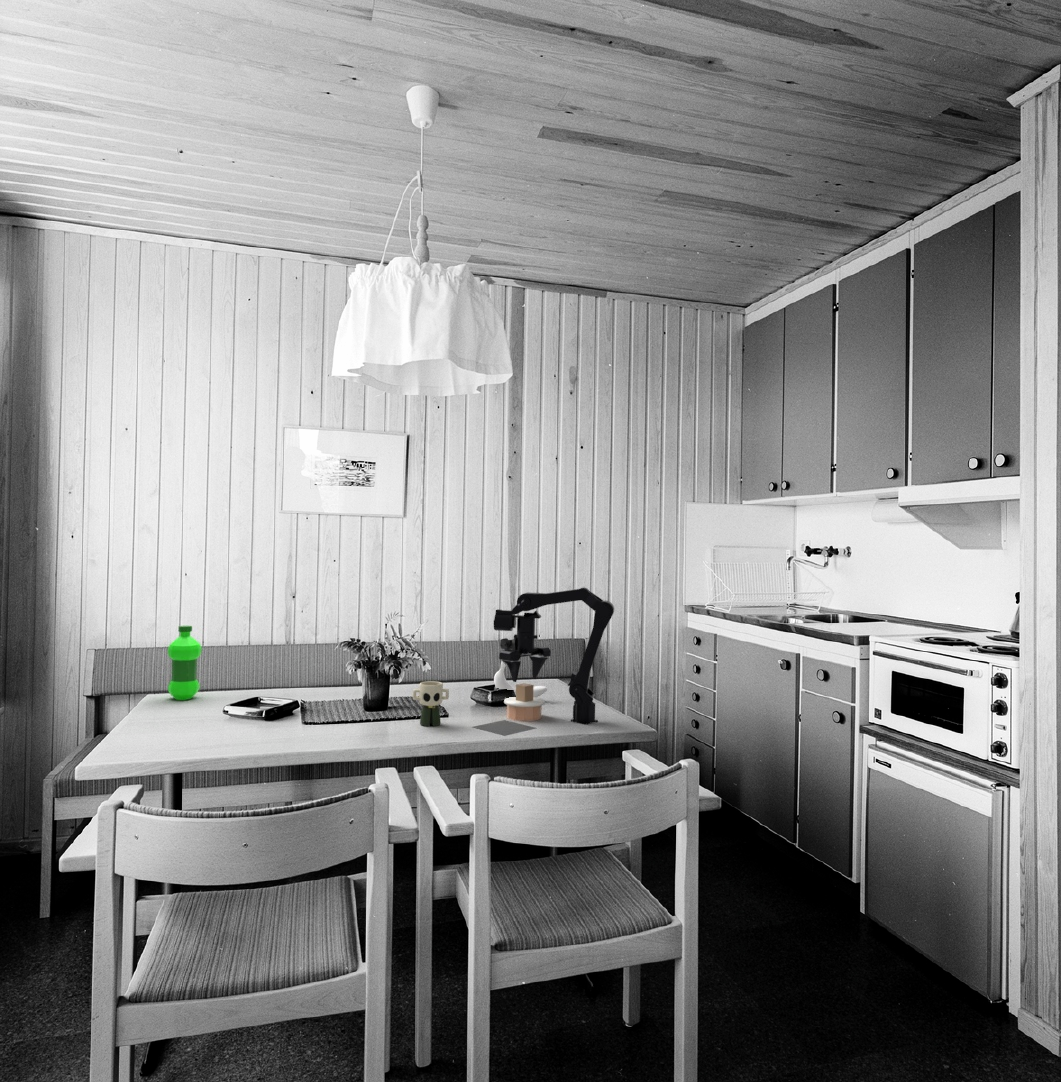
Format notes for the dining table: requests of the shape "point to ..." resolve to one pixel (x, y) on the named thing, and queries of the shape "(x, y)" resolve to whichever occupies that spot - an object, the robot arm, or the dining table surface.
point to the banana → (503, 684)
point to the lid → (524, 697)
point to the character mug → (430, 701)
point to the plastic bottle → (184, 665)
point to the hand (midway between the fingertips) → (524, 680)
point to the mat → (504, 727)
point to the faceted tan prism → (524, 713)
